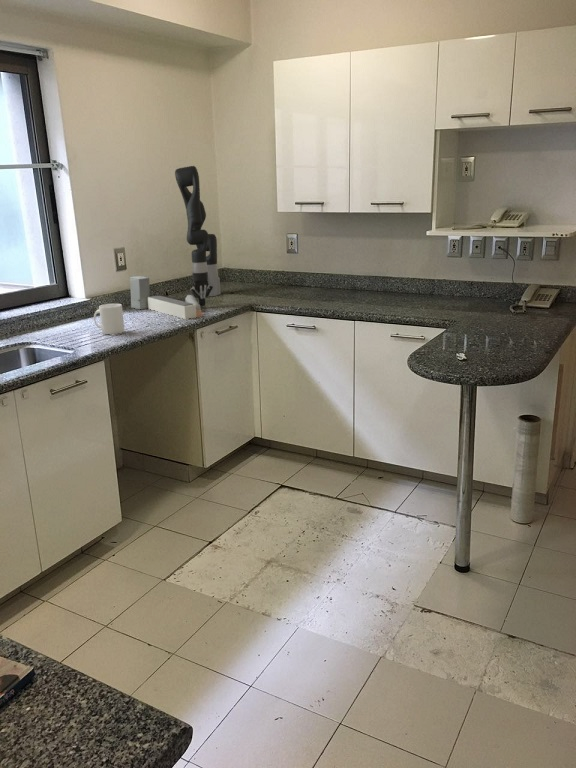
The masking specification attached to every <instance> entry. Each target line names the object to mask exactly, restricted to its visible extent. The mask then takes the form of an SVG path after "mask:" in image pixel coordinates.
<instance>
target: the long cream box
mask: <svg viewBox="0 0 576 768" xmlns="http://www.w3.org/2000/svg"><path fill="white" fill-rule="evenodd" d="M148 307H149V308H148V310H150V309H151V311H153V310H155V311H154V312H157V311H158V313H161V312H162V314H164V313H165V314H164V315H168V314H169V316H171V315H173V316H172V317H175V316H177V317H176V318H178V317H180V319H182V318H183V320H190V319H189V318H191V319H196V317H197V318H201V317H203V313H202V309H201V310H197V311H196V305H194V304H192V303H188V302H185V301H182V300H179V299H175V298H171V297H167V296H163V295H160V294H159V295H152V296H151V295H150V297H148Z"/></svg>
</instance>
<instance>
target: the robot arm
mask: <svg viewBox="0 0 576 768" xmlns="http://www.w3.org/2000/svg"><path fill="white" fill-rule="evenodd" d="M174 177H175V180H176V183H177V186H178V188H179V192H180V193H181V196H182V199H183V203H184V206H185V211H186V217H187V231H186V242H187V243H188V244H189V245H190V246H196V249H193V250H192V251H191V272H192V282H193V283H192V287H191V288H189V289H188V290H189V292H190V293H191V295H193V296H194V297H195V299H198V303H199V304H200V306H201V307H205V306H206V298H208V297H217V296H220V295H221V279H220V277H219V272H218V271H219V270H218V239H217V237H216V235H215V233H208V231H207V230H206V229H202V227H203V225H204V223H205V220H206V217H207V213H206V209H205V206H204V203H203V202H202V201H201V192H200V191H201V190H200V175H199V171H198V169H197V167H196V166H195V165H189V166H183V167H179V168H177V169H175V171H174ZM189 187H192V191H190V190H189ZM207 252H209V254H207Z"/></svg>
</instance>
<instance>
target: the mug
mask: <svg viewBox="0 0 576 768" xmlns="http://www.w3.org/2000/svg"><path fill="white" fill-rule="evenodd" d="M123 313H124V312H123V304H121V303H105V304H101V305H99V306H98V309H96V311H95V312H94V314H93V321H94V324H95V326H96V327H97V328H99V329H101V332H102V334H104V335H106V334H114V335H118V333H120V334H122V332H123V333H124V332H125V324H124V321H125V320H124V314H123ZM98 314H99V320H100V325H99V324H98V322H97V319H96V318H97V315H98Z"/></svg>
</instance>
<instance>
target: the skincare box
mask: <svg viewBox="0 0 576 768" xmlns="http://www.w3.org/2000/svg"><path fill="white" fill-rule="evenodd" d="M129 283H130V284H129V285H130V286H129V287H130V307H131V309H134V308H135V309H136V310H140V309H141V310H146V309H145V308H148V309H149V307H148V297H151V291H150V290H151V288H150V277H146V276H142V275H141V276H140V275H137V276H130V277H129Z"/></svg>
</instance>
